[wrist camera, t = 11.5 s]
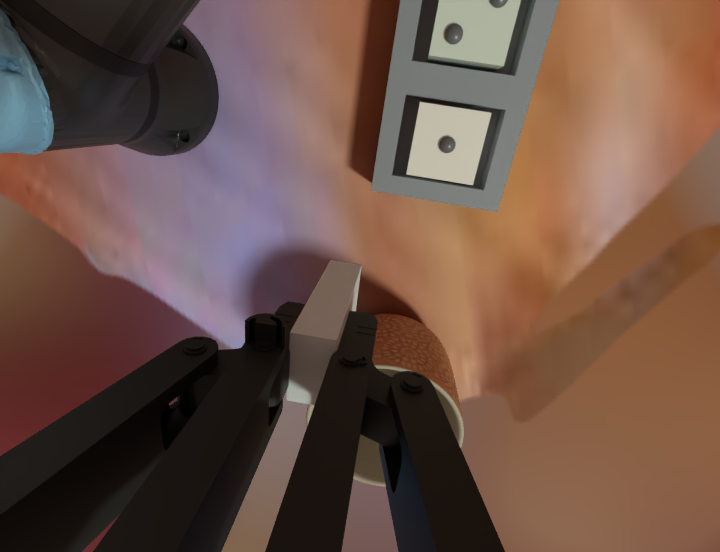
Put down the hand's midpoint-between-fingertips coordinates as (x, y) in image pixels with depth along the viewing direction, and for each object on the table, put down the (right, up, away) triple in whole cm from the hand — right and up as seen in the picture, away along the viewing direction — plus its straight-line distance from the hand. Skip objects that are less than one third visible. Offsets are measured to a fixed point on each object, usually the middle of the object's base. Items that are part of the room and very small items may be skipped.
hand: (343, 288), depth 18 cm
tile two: (+12, +25, +19) cm, 34 cm away
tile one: (+10, +15, +24) cm, 30 cm away
